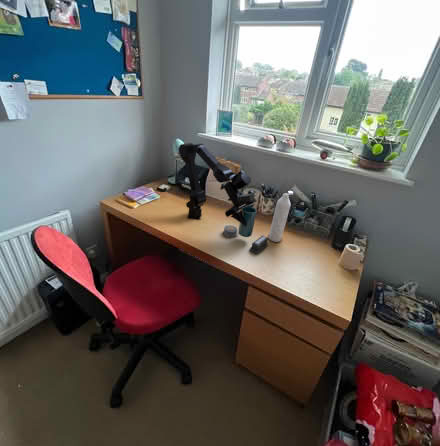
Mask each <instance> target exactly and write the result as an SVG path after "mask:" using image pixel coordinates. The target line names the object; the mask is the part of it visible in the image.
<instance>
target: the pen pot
mask: <svg viewBox="0 0 440 446" xmlns="http://www.w3.org/2000/svg"><path fill="white" fill-rule="evenodd" d="M241 210H242V215H243V218H244V220H245V222H246V225H245V226H244V225H243V224H242V223H240V222H239V224H238V229H237V234H238V235H239V236H240V237H244V238H250V237H252V235H253V231H254V227H255V221H256V218H257V212H258V210H257V209H256V208H255V207H254V206H253V207H248V206H246V207H243V208H241Z"/></svg>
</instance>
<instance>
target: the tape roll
mask: <svg viewBox="0 0 440 446" xmlns="http://www.w3.org/2000/svg"><path fill="white" fill-rule="evenodd" d="M223 229H224V230H223V235H224V236H225V237H227V238H235V237H236V236H237V235H238V227H236V226H235V225H231V224H230V225H225V226H224V228H223Z"/></svg>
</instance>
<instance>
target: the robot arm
mask: <svg viewBox="0 0 440 446" xmlns="http://www.w3.org/2000/svg"><path fill="white" fill-rule="evenodd" d="M178 154H179V156H180V158H181V160H182V161H183V163H184V164H185V169H186V174H187V177H188V182H189V186H190V193H189V200H188V201H187V202H186V203H185V205H186V206H185V207H186V208H188V216H187V219H193V220H200V219H201V217H202V212H203V208H202V207H203V206H204V204H206V202H207V198H208V197H207V194H206V191H205V190H203V189H202V188H201V185H200V181H199V175H198V171H197V166H196V157H197V155H198V156H199V158H200V159H202V161H203V162H204V163H205V164H206V166H207V167H209V169H210V170H211V171H212V175H213V177H214V179H215V180H216V181H217V182H218V183H221V185H220V191H222V190H224V191H225V193H226V195H227V196H228V199H227V200H228V202H231V205H232V206H231V207H230V208H229V209H227V210H225V212H224V215H225V217H226V218H229V217H230V218H232V219H234V220H236V221H238V223H239V224H240V223H242V224H243V225H244V226H245V225H246V222H245V220H244V218H243V215H242V208H243V207H246V206H248V207H253V208H254V205H255V203H257V200H256V198H255V197H256V196H257V195H256V194H255V192H254V190H249V191H247V193H244V192H243V191H240V190H242V189H243V188H245V187H247V186H248V185H250V184H251V183H252V181H251V180H252V179H251V177H250V175H249V174H247V172H245V171H244V170H243V169H241V170H239V171H238V172H237V173H235V172H233V171H232V170H231V169H230V168H229V167H228V166H227V165H225V164H223V163H221V162H220V161H219V160H218V159H217V158H216V157H215V156H214V155H213V154H212V153H211V152H210V151H209V150H208V148H207V147H206V145H205V144H204V143H197V144H193V142H187V143H181V144H180V145H179V146H178Z"/></svg>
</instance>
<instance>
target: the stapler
mask: <svg viewBox="0 0 440 446" xmlns="http://www.w3.org/2000/svg"><path fill="white" fill-rule="evenodd" d="M268 240H269V238H268V237H267V236H265V235H261V236H260V237H258V238H257V239H256V240H255V241H253V242H252V243H251V246H250V247H249V252H251V253H254V254H255V255H257V254H259V253H260V252H261V251H262V250H263V249H265V248H266V247H267V246H268Z"/></svg>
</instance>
